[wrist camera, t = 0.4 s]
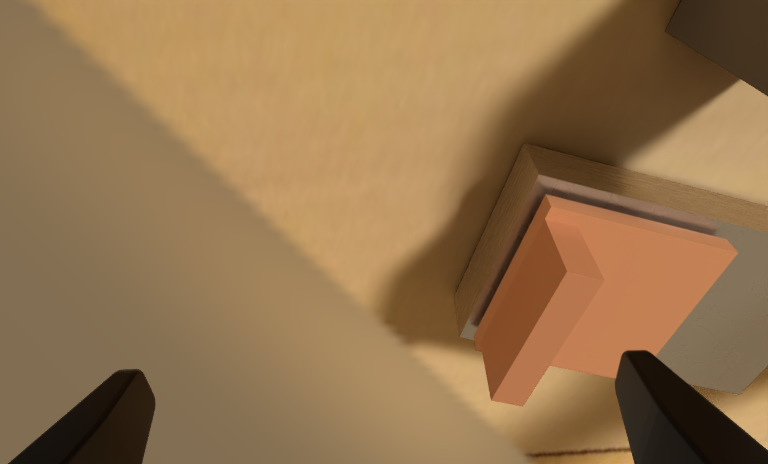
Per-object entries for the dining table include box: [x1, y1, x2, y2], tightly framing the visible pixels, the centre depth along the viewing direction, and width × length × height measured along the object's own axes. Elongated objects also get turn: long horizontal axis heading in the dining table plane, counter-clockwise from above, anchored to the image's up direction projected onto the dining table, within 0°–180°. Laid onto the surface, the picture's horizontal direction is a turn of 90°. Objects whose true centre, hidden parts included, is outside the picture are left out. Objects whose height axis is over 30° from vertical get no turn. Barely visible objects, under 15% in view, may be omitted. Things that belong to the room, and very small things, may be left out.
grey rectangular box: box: [454, 143, 768, 395], centre depth 23 cm, size 13×8×2 cm, turn 75°
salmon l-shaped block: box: [474, 194, 738, 406], centre depth 19 cm, size 7×7×4 cm
